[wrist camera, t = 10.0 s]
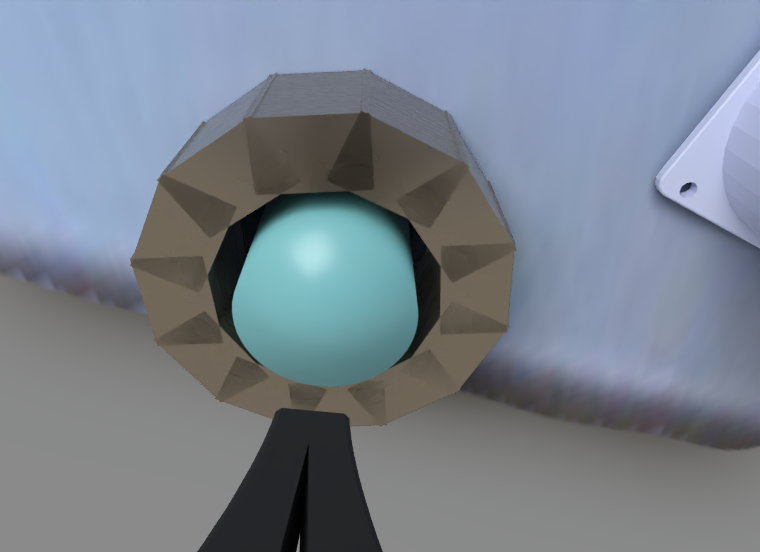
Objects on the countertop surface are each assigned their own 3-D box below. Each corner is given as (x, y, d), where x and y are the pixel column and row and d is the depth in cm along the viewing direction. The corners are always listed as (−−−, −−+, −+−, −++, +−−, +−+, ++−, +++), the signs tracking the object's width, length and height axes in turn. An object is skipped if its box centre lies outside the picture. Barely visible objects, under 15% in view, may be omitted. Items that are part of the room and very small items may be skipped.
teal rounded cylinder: (435, 197, 19) (452, 282, 15) (369, 306, 21) (368, 407, 17) (296, 133, 18) (271, 204, 13) (243, 256, 20) (207, 350, 16)
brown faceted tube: (551, 166, 18) (591, 226, 15) (397, 382, 23) (400, 464, 20) (244, 2, 16) (208, 29, 12) (142, 283, 20) (96, 359, 17)
